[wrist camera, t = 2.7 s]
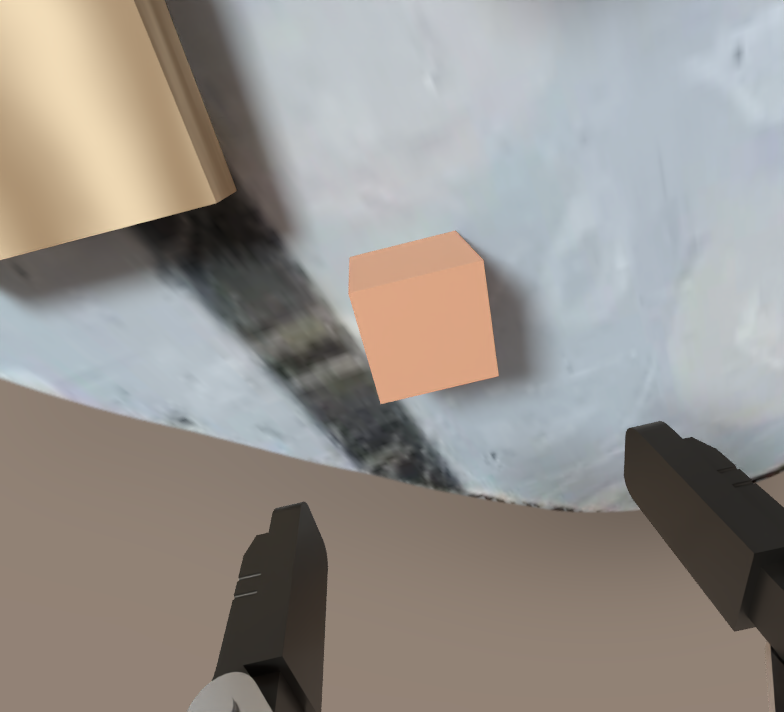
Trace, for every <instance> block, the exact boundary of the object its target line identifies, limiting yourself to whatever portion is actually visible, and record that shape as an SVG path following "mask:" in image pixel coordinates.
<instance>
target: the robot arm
mask: <svg viewBox="0 0 784 712" xmlns="http://www.w3.org/2000/svg"><path fill="white" fill-rule="evenodd" d="M624 478H625V483H626V486H627V489H628V491H629V493H630V495H631V497H632V499H633V500H634V501H635V503H636V504H637V505H638V507H639V508H640V509H641V511H642V512H643V513H644V514H645V516H646V517H647V518H648V519H649V521H650V522H651V524H652V525H653V526H654V527H655V529H656V530H657V531H658V533H659V534H660V535H661V537H662V538H663V539H664V541H665V542H666V543H667V544H668V546H669V547H670V548H671V550H672V551H673V552H674V554H675V555H676V556H677V557H678V559H679V560H680V561H681V563H682V564H683V565H684V567H685V568H686V569H687V570H688V572H689V573H690V574H691V576H692V577H693V578H694V579H695V581H696V582H697V584H699V586H700V587H701V589H702V590H703V591H704V593H705V594H706V595H707V596H708V598H709V599H710V600H711V602H712V603H713V604H714V606H715V607H716V608H717V610H718V611H719V612H720V614H721V615H722V616H723V617H724V619H725V620H726V621H727V622H728V624H729V625H730V627H731V628H732V629H733V630H734V631H739V630H744V629H748V628H753V627H756V628H757V629H758V630H759V631H760V632H761V634H762V635H763V636H764V637H765V639H766V640H767V641H766V645H765V658H766V673H767V688H768V703H769V712H784V507H782V506H781V505H780V504H779V503H778V502H777V501H776V500H774V499H773V498H772V497H771V496H770V495H769V494H768V493H766V492H765V491H764V490H763V489H762V488H761V487H759V486H758V485H757V484H756V483H755V484H754V483H753V482H752V480H751V479H750V478H749V477H748V476H747V475H746V474H745V473H743V472H742V471H741V470H740V469H737V468H736V466H735V465H734V464H733V463H732V462H731V461H730V460H728V459H727V458H726V457H725V456H724V455H723V454H722V453H720V452H719V451H718V450H717V449H715V448H713V447H711V446H709V445H707V444H705V443H703V442H701V441H699V440H697V439H695V438H693V437H690V438H685V439H682V438H681V437H680V436H679V435H678V434H677V433H676V432H675V431H674V430H673V429H672V428H671V427H669V426H668V425H667V424H666V423H664V422H662V421H658V422H654V423H649V424H645V425H641V426H636V427H632V428H629V429H627V431H626V436H625V462H624ZM327 574H328V561H327V553H326V548H325V545H324V542H323V539H322V537H321V534H320V532H319V530H318V527H317V525H316V523H315V521H314V518H313V516H312V514H311V511H310V509H309V507H308V505H307V503H306V502H301V503H297V504H292V505H289V506H284V507H279V508H276V509H274V511H273V514H272V518H271V524H270V529H269V533H265V534H261V535H257V536H256V537H255V539H254V540H253V542H252V544H251V545H250V547H249V548H248V550H247V551H246V553H245V555H244V556H243V561H242V565H241V569H240V573H239V581H238V582H237V585H236V589H235V593H234V597H235V599H234V600H233V602H232V606H231V610H230V614H229V618H228V622H227V626H226V631H225V634H224V638H223V642H222V647H221V651H220V655H219V659H218V663H217V667H216V671H215V674H214V677H213V679H212V682H210V683H209V684H208V685H207V686H206V687H205V688H204V689H203V690H202V691H201V692H200V693H199V694H198V695H197V696H196V698H195V699H194V701H193V702H192V704H191V705H190V707H189V709H188V711H187V712H321V702H322V681H323V661H324V638H325V617H326V596H327Z"/></svg>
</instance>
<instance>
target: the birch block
mask: <svg viewBox="0 0 784 712" xmlns="http://www.w3.org/2000/svg"><path fill="white" fill-rule="evenodd" d="M236 191H237V189H236V187H235V184H234V181H233V179H232V176H231V174H230V171H229V168H228V166H227V163H226V161H225V158H224V155H223V153H222V150H221V147H220V145H219V142H218V140H217V137H216V134H215V132H214V129H213V126H212V124H211V121H210V119H209V116H208V113H207V111H206V108H205V105H204V103H203V100H202V98H201V95H200V92H199V90H198V87H197V84H196V82H195V79H194V77H193V74H192V71H191V69H190V66H189V63H188V61H187V58H186V56H185V53H184V50H183V48H182V45H181V42H180V40H179V37H178V35H177V32H176V29H175V27H174V24H173V21H172V19H171V16H170V14H169V11H168V8H167V6H166V3H165V0H0V260H2V259H6V258H10V257H14V256H18V255H21V254H25V253H29V252H33V251H37V250H40V249H44V248H48V247H52V246H56V245H59V244H63V243H67V242H71V241H75V240H78V239H82V238H86V237H90V236H94V235H97V234H101V233H105V232H109V231H113V230H116V229H120V228H124V227H128V226H132V225H135V224H139V223H143V222H147V221H151V220H154V219H158V218H162V217H166V216H170V215H173V214H177V213H181V212H185V211H189V210H192V209H196V208H200V207H204V206H208V205H211V204H215V203H218V202H219V201H221V200H223V199H224V198H226V197H228V196H229V195H231V194H233V193H234V192H236Z"/></svg>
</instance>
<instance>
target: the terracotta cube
mask: <svg viewBox="0 0 784 712" xmlns="http://www.w3.org/2000/svg"><path fill="white" fill-rule="evenodd" d="M349 297H350V300H351V304H352V307H353V310H354V314H355V317H356V321H357V324H358V327H359V331H360V334H361V338H362V341H363V345H364V348H365V351H366V355H367V358H368V362H369V365H370V368H371V372H372V375H373V379H374V382H375V386H376V389H377V392H378V396H379V399H380V403H381V404H383V403H387V402H392V401H396V400H400V399H404V398H409V397H413V396H417V395H421V394H425V393H430V392H434V391H438V390H442V389H447V388H451V387H455V386H459V385H464V384H468V383H472V382H476V381H481V380H485V379H489V378H493V377H497V376H499V374H498V367H497V359H496V351H495V344H494V336H493V329H492V321H491V314H490V306H489V299H488V291H487V283H486V276H485V268H484V261H483V259H482V258H481V257H480V256H479V255H478V254H477V253H476V252H475V251H474V250H473V249H472V248H471V247H470V245H469V244H468V243H467V242H466V241H465V240H464V239H463V238H462V237H461V236H460V235H459V234H458V233H457V232H456V231H452V232H448V233H444V234H440V235H436V236H432V237H428V238H424V239H420V240H416V241H412V242H408V243H404V244H400V245H396V246H392V247H388V248H384V249H380V250H376V251H372V252H368V253H364V254H360V255H356V256H352V257H350V258H349Z"/></svg>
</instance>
